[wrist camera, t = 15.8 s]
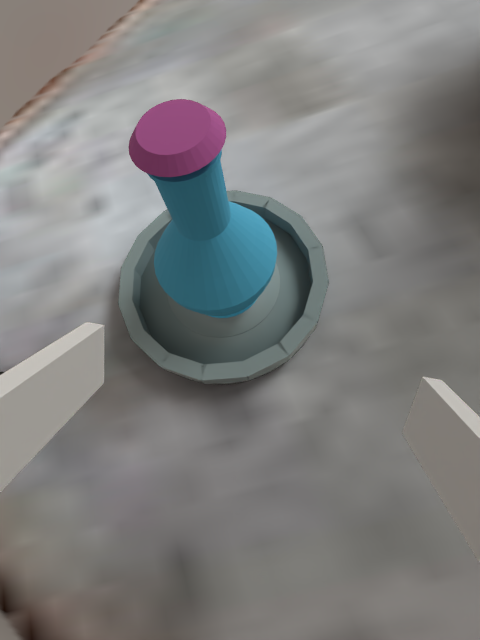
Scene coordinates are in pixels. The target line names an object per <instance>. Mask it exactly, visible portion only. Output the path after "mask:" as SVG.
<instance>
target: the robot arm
mask: <svg viewBox="0 0 480 640" xmlns="http://www.w3.org/2000/svg"><path fill="white" fill-rule="evenodd" d="M103 384H104V325H101V324H95V323H89V322H86V323H84V324H83V325H81V326H79V327H78V328H76V329H74V330H73V331H71V332H70V333H68V334H66V335H65V336H63V337H61V338H60V339H58V340H57V341H55V342H53V343H52V344H50V345H48V346H47V347H45V348H44V349H42V350H40V351H39V352H37V353H36V354H34V355H32V356H31V357H29V358H27V359H26V360H24V361H23V362H21V363H19V364H18V365H16V366H14V367H13V368H11V369H10V370H8V371H6V372H0V492H1V491H2V490H3V489H4V488H5V487H6V486H7V485H8V484H9V483H10V482H11V481H12V480H13V479H14V478H15V477H16V475H17V474H18V473H19V472H20V471H21V470H22V469H23V468H24V467H25V466H26V465H27V464H28V463H29V462H30V461H31V460H32V459H33V458H34V456H35V455H36V454H37V453H38V452H39V451H40V450H41V449H42V448H43V447H44V446H45V445H46V444H47V443H48V442H49V441H50V440H51V439H52V438H53V436H54V435H55V434H56V433H57V432H58V431H59V430H60V429H61V428H62V427H63V426H64V425H65V424H66V423H67V422H68V421H69V420H70V419H71V417H72V416H73V415H74V414H75V413H76V412H77V411H78V410H79V409H80V408H81V407H82V406H83V405H84V404H85V403H86V402H87V401H88V400H89V398H90V397H91V396H92V395H93V394H94V393H95V392H96V391H97V390H98V389H99V388H100V387H101V386H102V385H103ZM402 434H403V436H404V438H405V439H406V441H407V443H408V444H409V446H410V448H411V449H412V451H413V453H414V454H415V456H416V458H417V459H418V461H419V463H420V464H421V466H422V468H423V469H424V471H425V473H426V474H427V476H428V478H429V479H430V481H431V483H432V484H433V486H434V488H435V490H436V491H437V493H438V495H439V496H440V498H441V500H442V501H443V503H444V505H445V506H446V508H447V510H448V511H449V513H450V515H451V516H452V518H453V520H454V521H455V523H456V525H457V526H458V528H459V530H460V531H461V533H462V535H463V536H464V538H465V540H466V541H467V543H468V545H469V546H470V548H471V550H472V551H473V553H474V555H475V556H476V558H477V560H478V561H479V563H480V417H479V416H478V415H477V414H476V413H475V412H474V411H473V410H472V409H471V408H470V407H469V406H468V405H467V404H466V403H465V402H464V401H463V400H462V399H461V398H460V397H459V396H458V395H457V394H456V393H454V392H453V391H452V390H451V389H450V388H449V387H448V386H447V385H446V384H445V383H444V382H443V381H442V380H439V379H433V378H427V377H422V379H421V382H420V385H419V388H418V390H417V393H416V396H415V399H414V401H413V404H412V407H411V409H410V412H409V415H408V418H407V420H406V423H405V426H404V428H403V431H402Z"/></svg>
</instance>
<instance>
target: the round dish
mask: <svg viewBox="0 0 480 640" xmlns="http://www.w3.org/2000/svg"><path fill="white" fill-rule="evenodd" d="M226 192H227V197H228V201H230V202H233V203H236V204H238V205H241V206H243V207H245V208H247V209H250V210H252V211H254V212H255V213H256V214H258V215H259V216H261V217H262V218H263V219H264V220H265V222H266V223H267V224H268V225H269V227H270V228H271V230H272V232H273V234H274V237H275V240H276V245H277V257H276V264H275V270H274V273H273V275H272V278H271V280H270V282H269V283H268V285H267V286H266V288H265V289H264V291H263V292H262V294H261V295H260V296H259V297H258V298H257V300H256V301H255V303H254V304H253V305H252V306H251V307H250V308H249V309H247V310H246V311H245V312H243V313H241V314H239V315H237V316H233V317H229V318H215V317H211V316H208V315H205V314H200V313H197V312H194V311H191V310H188V309H186V308H185V307H183V306H181V305H179V304H178V303H177V302H175V301H174V300H173V299H172V298H171V297H170V296H169V295H168V294H167V293H166V292H165V291H164V289H163V288H162V287H161V285H160V284H159V282H158V279H157V276H156V274H155V268H154V256H155V250H156V247H157V244H158V241H159V240H160V238H161V236H162V234H163V232H164V231H165V229H166V227H167V226H168V224H169V223H170V222H171V220H172V217H171V215H170V213H169V211H168V209H167V210H165V211H166V212H165V211H164V212H163V213H162V214H161V215H159V216H158V217H157V218H156V219H155V220H154V221H153V222H152V223H151V224H150V225H149V226H148V227H147V228H145V229H144V230H143V231H142V232H141V233H140V234H139V235H138V236H137V238H136V240H135V242H134V244H133V246H132V248H131V250H130V252H129V254H128V256H127V258H126V260H125V262H124V264H123V266H122V267H121V276H120V288H119V300H118V305H119V308H120V310H121V313H122V316H123V318H124V321H125V324H126V327H127V329H128V332H129V335H130V337H131V339H132V340H133V341H134V342H135V343H136V344H137V345H138V346H139V347H140V348H141V349H142V350H143V351H144V352H145V353H146V354H147V355H148V356H149V357H150V358H151V359H152V360H153V361H155V362H156V363H157V364H158V365H159V366H160V367H161V368H163V369H164V370H166V371H169V372H172V373H175V374H177V375H180V376H182V377H184V378H187V379H190V380H193V381H197V382H201V383H204V384H232V383H239V382H244V381H249V380H251V379H255V378H258V377H260V376H262V375H265V374H267V373H269V372H271V371H273V370H274V369H276V368H278V367H279V366H281V365H282V364H284V363H285V362H287V361H288V360H289V359H290V358H291V357H292V356H293V355H294V354H295V353H296V352H297V351H298V350H299V349H300V348H301V347H302V346H303V344H304V343H305V342H306V340H307V339H308V338H309V336H310V335H311V333H312V332H313V331H314V330H315V329H316V326H317V323H318V319H319V316H320V312H321V309H322V305H323V302H324V298H325V295H326V291H327V288H328V284H329V280H328V275H327V269H326V263H325V258H324V252H323V246H322V244H321V243H320V242H319V240H318V239H317V237H316V236H315V235H314V233H313V232H312V230H311V229H310V228H309V226H308V225H307V223H306V222H305V220H304V219H303V218H302V217H301V216H300V215H299V214H297V213H296V212H294V211H292V210H291V209H289V208H287V207H286V206H284V205H283V204H281V203H279V202H278V201H276V200H274V199H273V198H271V197H266V196H261V195H256V194H251V193H246V192H241V191H236V190H234V191H226Z"/></svg>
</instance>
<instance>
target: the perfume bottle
mask: <svg viewBox="0 0 480 640" xmlns="http://www.w3.org/2000/svg"><path fill="white" fill-rule="evenodd" d="M225 139H226V128H225V124H224V122H223V120H222V119H221V117H220V116H219V115H218V114H217V113H216V112H215V111H213V110H211V109H209V108H208V107H206V106H203V105H201V104H199V103H197V102H194V101H191V100H185V99H177V100H170V101H167V102H163V103H161V104H158V105H156V106H155V107H153V108H151V109H150V110H149V111H147V112H146V113H145V114H144V115H143V116H142V117H141V119H140V120H139V122H138V124H137V126H136V128H135V129H134V131H133V133H132V136H131V138H130V141H129V154H130V157H131V159H132V161H133V162H134V164H135V165H136V166H137V167H138V168H139V169H141V170H142V171H144V172H146V173H147V174H148V175H149V176H150V178H151V179H153V180H154V181H155V183H156V185H157V187H158V189H159V191H160V193H161V196H162V198H163V200H164V202H165V204H166V206H167V209H168V211H169V213H170V215H171V217H172V220H171V222H170V223H169V224H168V226H167V227H166V229H165V231H164V232H163V234H162V236H161V238H160V240H159V241H158V244H157V247H156V250H155V256H154V268H155V274H156V276H157V279H158V282H159V284H160V285H161V287H162V288H163V289H164V291H165V292H166V293H167V294H168V295H169V296H170V297H171V298H172V299H173V300H174V301H175V302H177V303H178V304H179V305H181V306H183V307H185V308H186V309H188V310H191V311H194V312H197V313H200V314H205V315H208V316H211V317H215V318H229V317H233V316H237V315H239V314H241V313H243V312H245V311H246V310H247V309H249V308H250V307H251V306H252V305H253V304H254V303H255V301H256V300H257V298H258V297H259V296H260V295H261V294H262V292H263V291H264V289H265V288H266V286H267V285H268V283H269V282H270V280H271V278H272V275H273V273H274V270H275V264H276V257H277V245H276V240H275V237H274V234H273V232H272V230H271V228H270V227H269V225H268V224H267V223H266V222H265V220H264V219H263V218H262V217H261V216H259V215H258V214H256V213H255V212H254V211H252V210H250V209H247V208H245V207H243V206H241V205H238V204H236V203H233V202H230V201H228V197H227V192H226V187H225V182H224V177H223V172H222V167H221V162H220V158H221V155H222V147H223V145H224V143H225Z"/></svg>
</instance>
